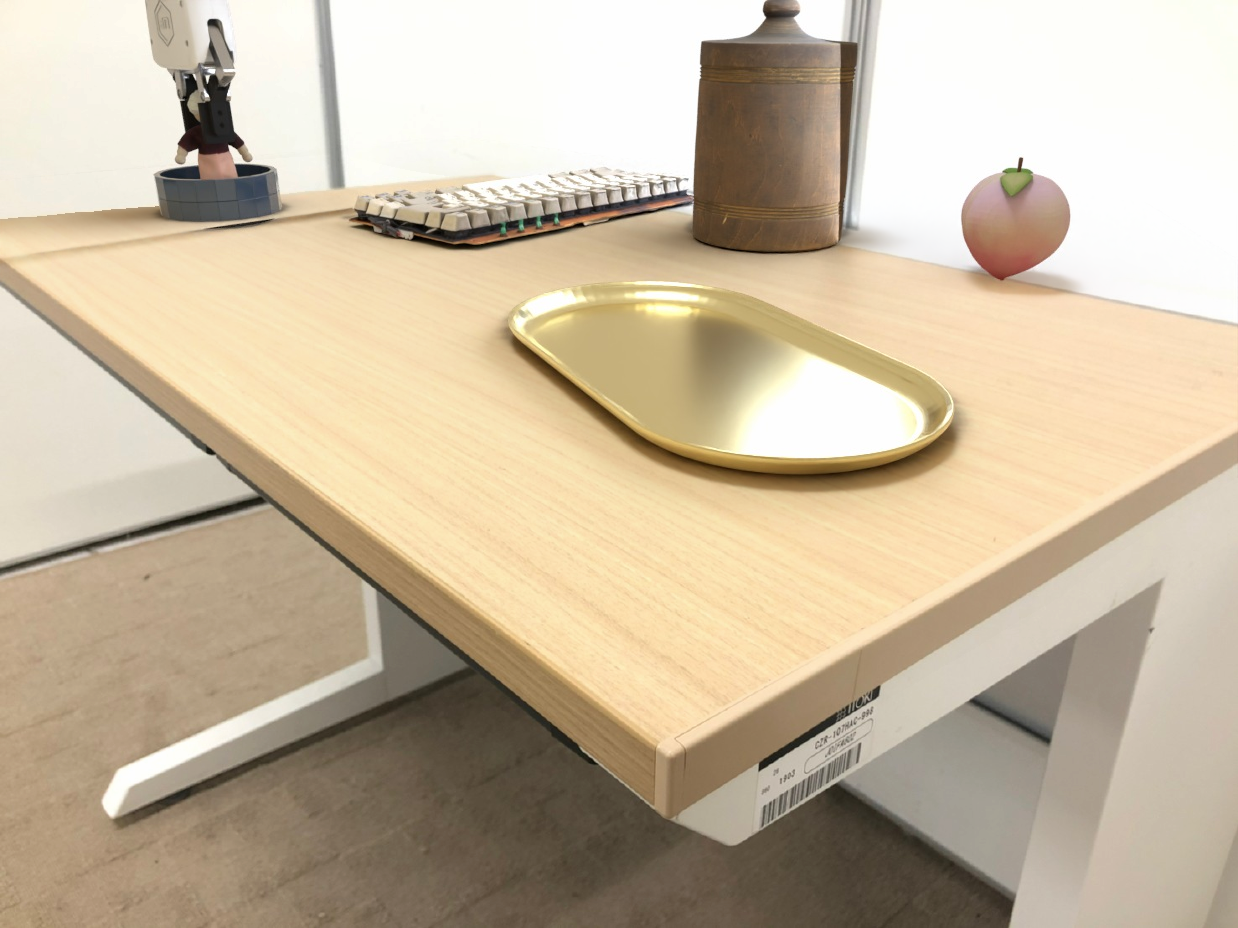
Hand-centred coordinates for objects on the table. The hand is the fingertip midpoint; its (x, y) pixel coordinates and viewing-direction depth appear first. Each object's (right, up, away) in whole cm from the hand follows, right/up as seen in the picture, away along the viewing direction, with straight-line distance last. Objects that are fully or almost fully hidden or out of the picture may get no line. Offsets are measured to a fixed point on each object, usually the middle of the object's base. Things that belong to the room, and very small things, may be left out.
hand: (210, 139), depth 104 cm
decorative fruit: (+76, -19, -20) cm, 80 cm away
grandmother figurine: (0, -7, +3) cm, 8 cm away
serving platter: (+48, -29, -42) cm, 70 cm away
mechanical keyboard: (+34, -6, +7) cm, 35 cm away
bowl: (0, -7, +3) cm, 8 cm away
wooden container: (+58, -12, -5) cm, 59 cm away
